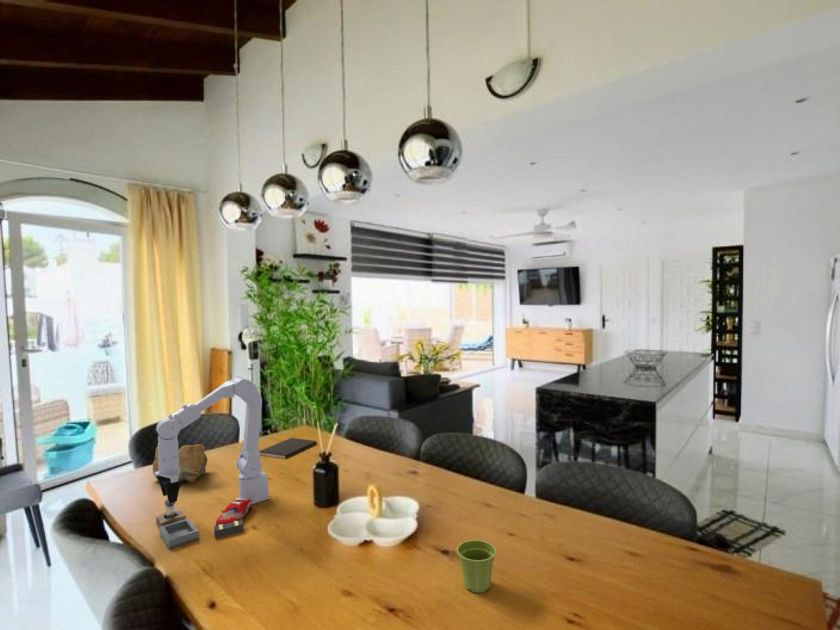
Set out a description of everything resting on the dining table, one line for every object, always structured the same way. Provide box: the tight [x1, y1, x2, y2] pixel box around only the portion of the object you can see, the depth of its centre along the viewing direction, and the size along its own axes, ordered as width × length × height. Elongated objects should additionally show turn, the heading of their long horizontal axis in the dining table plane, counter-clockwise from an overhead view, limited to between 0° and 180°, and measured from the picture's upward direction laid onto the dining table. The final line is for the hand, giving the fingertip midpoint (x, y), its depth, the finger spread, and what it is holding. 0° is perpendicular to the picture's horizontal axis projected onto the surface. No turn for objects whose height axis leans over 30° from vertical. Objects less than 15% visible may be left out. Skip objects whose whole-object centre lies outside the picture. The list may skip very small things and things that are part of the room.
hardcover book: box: [259, 437, 318, 460], centre depth 217 cm, size 16×23×2 cm
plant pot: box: [456, 539, 497, 594], centre depth 108 cm, size 9×9×9 cm
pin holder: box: [155, 508, 187, 528], centre depth 144 cm, size 7×7×2 cm
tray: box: [159, 518, 200, 550], centre depth 135 cm, size 8×11×2 cm
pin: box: [164, 499, 177, 519], centre depth 144 cm, size 3×3×7 cm
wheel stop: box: [213, 520, 244, 539], centre depth 137 cm, size 8×3×3 cm, turn 118°
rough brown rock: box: [152, 443, 208, 483], centre depth 184 cm, size 23×17×15 cm
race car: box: [215, 499, 253, 526], centre depth 146 cm, size 16×7×5 cm, turn 176°
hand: (169, 498), depth 144 cm, fingers open, 7 cm apart
